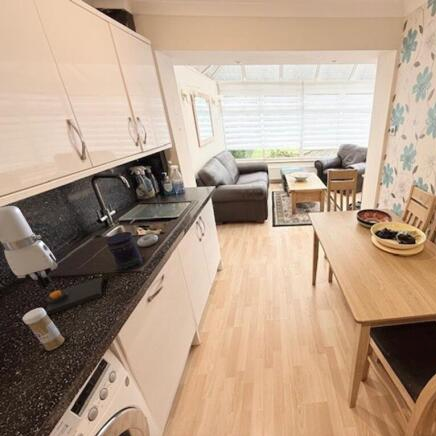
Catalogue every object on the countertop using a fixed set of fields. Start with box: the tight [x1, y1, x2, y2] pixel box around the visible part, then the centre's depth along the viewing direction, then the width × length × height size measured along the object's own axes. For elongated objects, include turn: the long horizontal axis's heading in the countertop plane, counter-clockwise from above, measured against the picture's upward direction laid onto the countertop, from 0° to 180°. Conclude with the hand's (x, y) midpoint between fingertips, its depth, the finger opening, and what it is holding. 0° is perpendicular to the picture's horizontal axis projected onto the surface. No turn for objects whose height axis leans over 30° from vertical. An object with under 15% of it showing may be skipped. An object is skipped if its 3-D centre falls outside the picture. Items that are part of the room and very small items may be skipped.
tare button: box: [49, 289, 62, 299], centre depth 90 cm, size 3×3×2 cm
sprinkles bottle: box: [21, 307, 66, 351], centre depth 71 cm, size 5×5×13 cm
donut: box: [136, 233, 159, 248], centre depth 128 cm, size 10×4×10 cm
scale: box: [45, 276, 105, 316], centre depth 93 cm, size 16×12×4 cm
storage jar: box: [105, 231, 144, 272], centre depth 108 cm, size 10×10×15 cm
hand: (47, 285), depth 88 cm, fingers closed
